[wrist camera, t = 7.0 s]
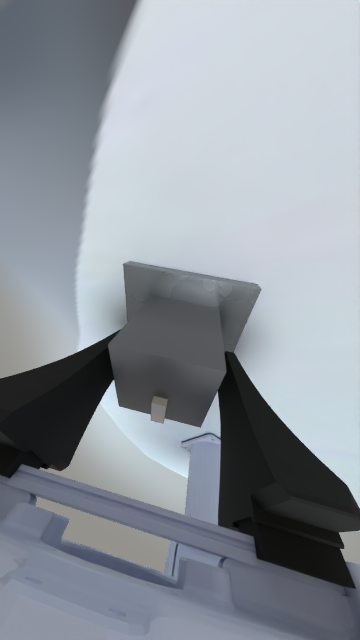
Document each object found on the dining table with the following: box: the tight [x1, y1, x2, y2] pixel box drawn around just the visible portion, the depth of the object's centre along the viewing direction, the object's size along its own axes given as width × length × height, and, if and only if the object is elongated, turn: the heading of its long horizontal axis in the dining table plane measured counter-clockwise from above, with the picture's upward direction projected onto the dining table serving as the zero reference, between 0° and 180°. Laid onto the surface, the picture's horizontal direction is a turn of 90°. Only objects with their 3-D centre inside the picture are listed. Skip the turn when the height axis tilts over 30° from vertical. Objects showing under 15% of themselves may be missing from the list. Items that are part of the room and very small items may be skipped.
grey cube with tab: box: [108, 296, 226, 428], centre depth 10 cm, size 5×5×6 cm
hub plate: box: [123, 261, 261, 353], centre depth 12 cm, size 10×10×4 cm
